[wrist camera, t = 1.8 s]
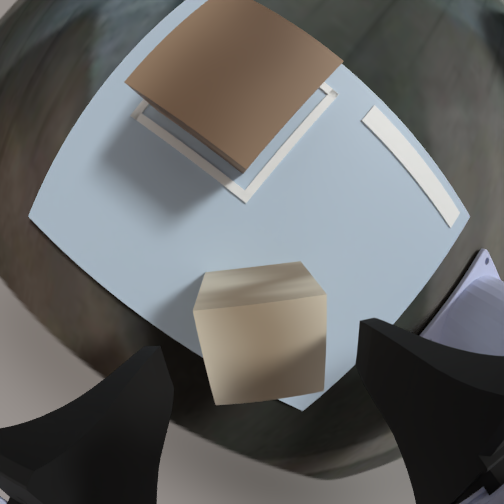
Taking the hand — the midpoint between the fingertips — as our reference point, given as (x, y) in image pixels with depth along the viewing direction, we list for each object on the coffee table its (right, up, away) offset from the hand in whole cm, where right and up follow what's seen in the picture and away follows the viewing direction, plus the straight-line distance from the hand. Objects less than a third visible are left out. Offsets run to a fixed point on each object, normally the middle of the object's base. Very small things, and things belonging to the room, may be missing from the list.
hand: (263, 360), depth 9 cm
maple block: (0, +1, +4) cm, 4 cm away
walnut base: (-1, +11, +2) cm, 11 cm away
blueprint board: (0, +6, +3) cm, 7 cm away
